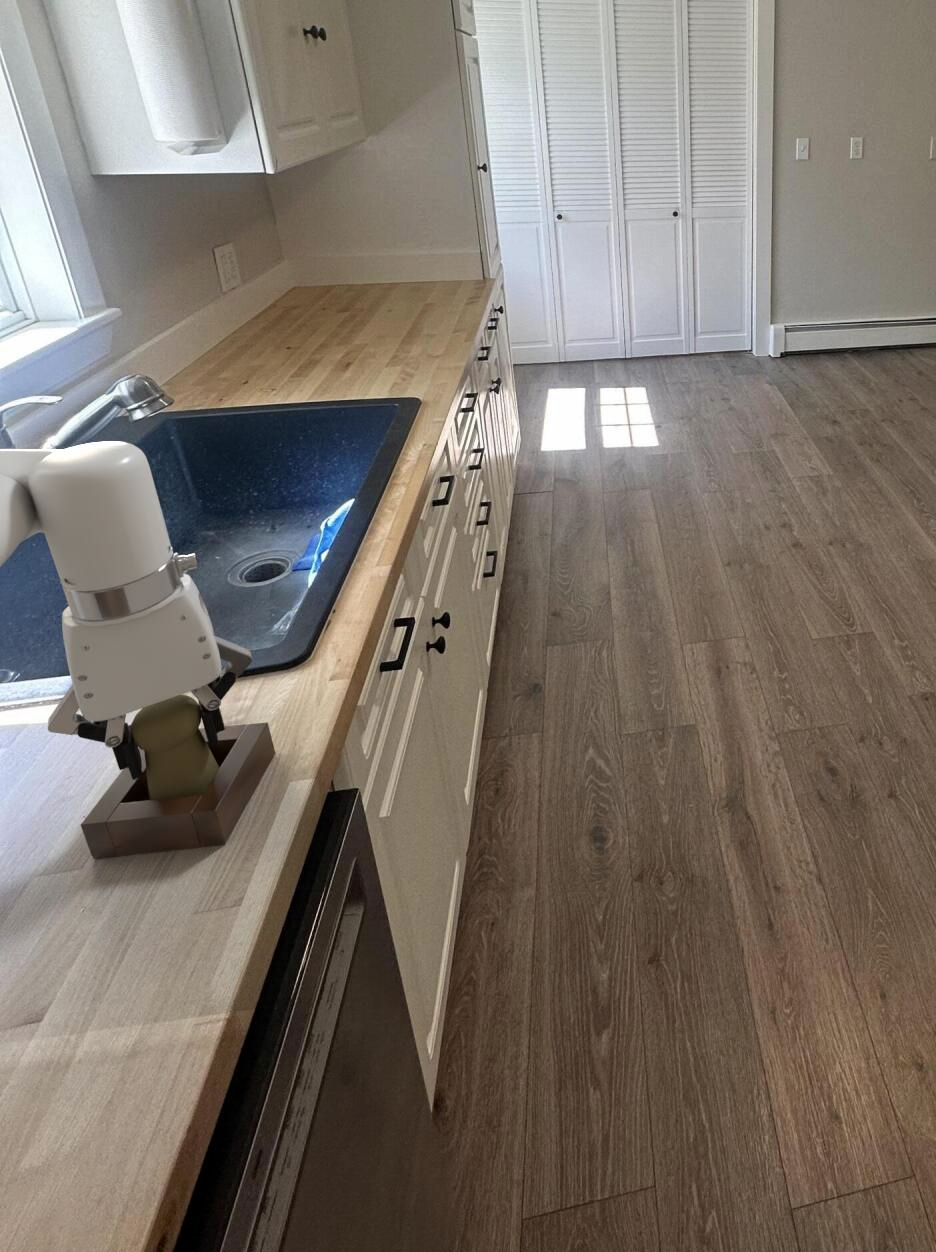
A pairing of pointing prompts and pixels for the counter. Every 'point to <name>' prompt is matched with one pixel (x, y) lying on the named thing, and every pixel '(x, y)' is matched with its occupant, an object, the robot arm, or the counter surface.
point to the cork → (174, 748)
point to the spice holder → (181, 801)
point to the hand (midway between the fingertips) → (175, 751)
